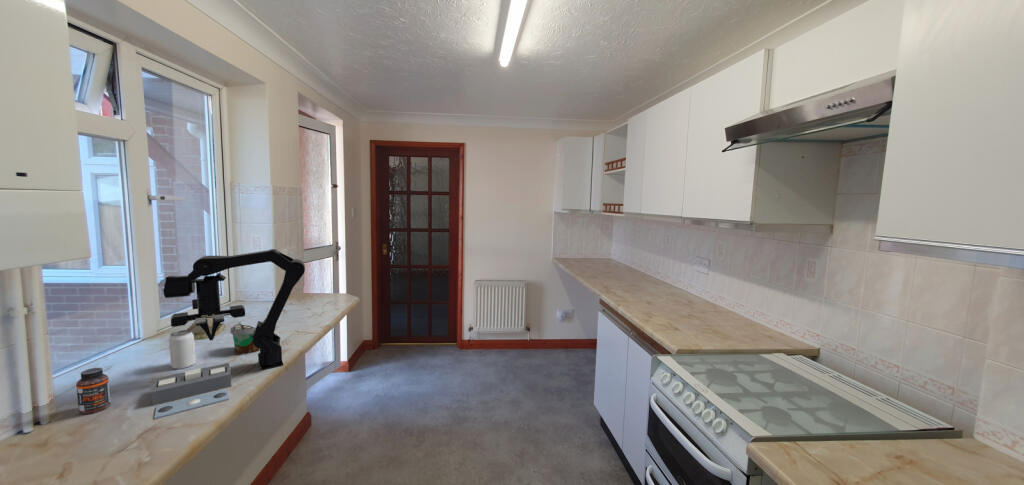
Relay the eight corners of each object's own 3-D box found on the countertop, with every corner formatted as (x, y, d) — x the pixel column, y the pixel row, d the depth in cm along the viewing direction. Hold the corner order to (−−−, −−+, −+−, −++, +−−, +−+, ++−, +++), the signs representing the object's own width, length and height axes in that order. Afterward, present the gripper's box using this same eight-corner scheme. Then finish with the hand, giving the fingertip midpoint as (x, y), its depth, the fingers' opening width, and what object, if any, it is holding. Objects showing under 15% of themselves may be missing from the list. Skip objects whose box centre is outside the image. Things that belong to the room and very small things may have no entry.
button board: (229, 374, 124) (228, 362, 124) (231, 386, 117) (230, 374, 116) (155, 390, 113) (154, 378, 112) (152, 405, 105) (151, 392, 105)
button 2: (225, 372, 121) (224, 366, 121) (225, 376, 118) (225, 370, 118) (211, 375, 118) (210, 369, 118) (211, 380, 116) (210, 374, 116)
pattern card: (227, 389, 115) (227, 388, 114) (229, 399, 109) (229, 398, 109) (156, 407, 104) (156, 405, 104) (154, 419, 99) (154, 417, 99)
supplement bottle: (81, 417, 99) (77, 377, 97) (76, 410, 102) (72, 371, 100) (113, 407, 104) (109, 369, 102) (108, 400, 107) (104, 363, 105)
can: (181, 370, 126) (178, 337, 124) (166, 368, 127) (163, 335, 125) (200, 362, 132) (198, 330, 130) (186, 360, 133) (183, 328, 132)
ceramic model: (207, 340, 151) (205, 317, 150) (178, 340, 150) (176, 317, 149) (230, 328, 165) (229, 307, 164) (204, 328, 164) (202, 306, 163)
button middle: (201, 373, 117) (200, 368, 117) (201, 378, 114) (200, 372, 114) (185, 377, 114) (185, 371, 114) (185, 381, 112) (185, 375, 112)
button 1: (175, 383, 113) (175, 377, 113) (175, 388, 110) (174, 381, 110) (159, 387, 111) (159, 380, 111) (158, 392, 108) (158, 385, 108)
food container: (224, 351, 141) (222, 326, 140) (240, 345, 147) (239, 321, 146) (244, 357, 137) (243, 331, 136) (261, 351, 142) (260, 326, 141)
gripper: (241, 285, 133) (243, 327, 135) (171, 293, 121) (175, 338, 123) (244, 292, 124) (246, 336, 126) (168, 301, 112) (173, 349, 114)
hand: (211, 340), depth 122 cm, fingers closed
